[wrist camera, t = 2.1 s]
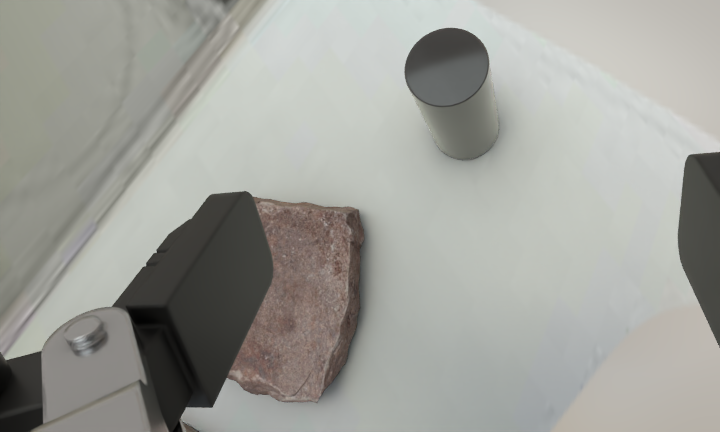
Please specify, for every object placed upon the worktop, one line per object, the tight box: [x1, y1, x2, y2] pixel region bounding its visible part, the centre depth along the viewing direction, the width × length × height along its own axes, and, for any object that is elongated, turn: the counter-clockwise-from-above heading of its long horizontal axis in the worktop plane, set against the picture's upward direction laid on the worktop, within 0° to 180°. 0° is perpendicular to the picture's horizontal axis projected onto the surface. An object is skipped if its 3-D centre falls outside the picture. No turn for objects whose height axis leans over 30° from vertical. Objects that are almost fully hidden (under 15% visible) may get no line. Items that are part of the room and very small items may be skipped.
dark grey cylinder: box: [405, 28, 499, 160], centre depth 32 cm, size 4×4×9 cm
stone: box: [227, 197, 364, 403], centre depth 35 cm, size 12×9×5 cm
